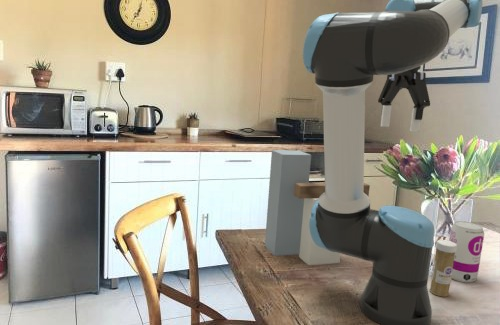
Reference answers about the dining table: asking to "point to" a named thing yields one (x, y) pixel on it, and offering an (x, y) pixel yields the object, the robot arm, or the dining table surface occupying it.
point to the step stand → (292, 210)
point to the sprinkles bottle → (443, 267)
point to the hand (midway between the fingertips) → (398, 129)
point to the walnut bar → (316, 190)
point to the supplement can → (466, 250)
